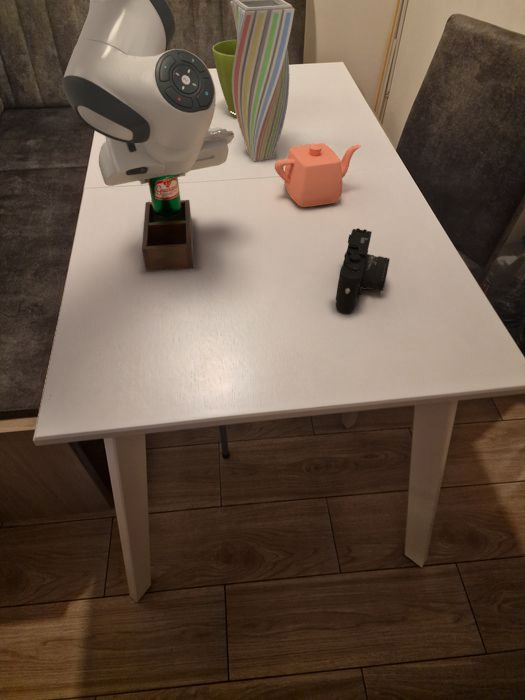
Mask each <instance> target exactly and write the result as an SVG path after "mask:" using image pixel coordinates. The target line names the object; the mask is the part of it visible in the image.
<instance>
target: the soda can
mask: <svg viewBox="0 0 525 700" xmlns="http://www.w3.org/2000/svg"><path fill="white" fill-rule="evenodd" d="M148 188H149V193H150V194H149V195H150V199H151V202H152V206H153V211H154V213H155V214H156V215H158V216H160V217H163V218H170V217H174V216H176V215H177V214H179V212H180V211H181V208H182V207H181V200H182V199H181V194H180V193H181V192H180V185H179V177H178V176H177V174H176V175H165V176H160V177H155V178H150V181H149V183H148Z"/></svg>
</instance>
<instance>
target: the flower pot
mask: <svg viewBox="0 0 525 700" xmlns="http://www.w3.org/2000/svg"><path fill="white" fill-rule="evenodd" d="M236 46H237V39H229V40H224V41H220V42H217V43H215V44H213V46H212V54H213V61H214V64H215V69H216V73H217V78H218V81H219V84H220V88H221V92H222V94H223V98H224V101H225V104H226V106H227V108H228V111H229V110H230V111H232V112H234V113H236V112H235V108H234V102H233V94H232V71H233V63H234V57H235V52H236ZM230 111H229V112H230ZM230 115H231V117H233V118H236V119H237V116H236V115H234V114H232V113H230Z"/></svg>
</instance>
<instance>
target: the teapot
mask: <svg viewBox="0 0 525 700" xmlns="http://www.w3.org/2000/svg"><path fill="white" fill-rule="evenodd" d="M361 147H362V145H361V144H355V145H352V146H350V147H349V148H347V149H346V151H345V152H344V154H343V156H342V159H340V157H339V156H338V154H337V153H336V152H335V151H334V150H333V149H332V148H331V147H330V146H329V145H327V144H326V143H324V142H323V143H322V142H321V143H311V144H303V145H301V144H300V145H294V146H291V147H290V148H289V151H288V154H287V156H286V158H285V159H279V160H277V161H275V163H274V170H275V172H276V174H277V175H278V176H279V177H280V178H281V179H282V180H283V182H284V186H285V189H286V191H287V193H288V195H289V197H290V198H291V199H292V200H293V202H295V204H297V205H298V206H299V207H301V208H304V207H305V208H306V207H317V206H323V205H328V204H334V203H337V202H338V201H339V200H340V198H341V196H342V192H343V178H345V176H346V175H347V173H348V170H349V167H350V163H351V159H352V158H353V157H352V156H353V155H354V154H355V152H356V151H357V150H358V149H360V148H361Z"/></svg>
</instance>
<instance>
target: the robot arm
mask: <svg viewBox="0 0 525 700" xmlns="http://www.w3.org/2000/svg"><path fill="white" fill-rule="evenodd" d="M87 12H88V13H87V16H86V19H85V21H84V24H83V26H82V29H81V32H80V34H79V37H78V39H77V42H76V44H75V45H74V48H73V51H72V53H71V56H70V59H69V61H68V64H67V67H66V69H65V72H64V75H63V77H62V80H61V86H62V90H63V93H64V95H65V98H66V99H67V102H68V104H69V105H70V107H71V108H72V110H73V111H74V112H75V114H76V115H77V116H78V118H79V119H80V120H81V122H83V123H84V124H85V125H86V126H87V127H88V128H89V129H91V130H92V131H94V132H96V133H98V134H100V135H102V136H104V137H105V141H104V143H102V145H101V146H100V149H99V154H98V167H99V170H100V174H101V177H102V180H103V182H104V184H105V185H106V186H110V187H113V186H119V185H123V184H129V183H133V182H134V183H135V182H139V183H140V185H146V184H149V181H150V178H155V177H160V176H165V175H176V174H177V176H178V178H182V177H185V176H186V175H187V174H188V173H189V172H191V171H196V170H200V169H206V168H211V167H218V166H221V165H223V164H225V162H226V161H227V159H228V156H229V152H230V151H229V144H231V143H232V141H234V138H235V132H234V131H233V130H227V129H225V128H222V127H219V126H214V127H213V126H212V127H211V124H212V122H213V119H214V115H215V110H216V99H217V97H216V96H217V93H216V86H215V82H214V79H213V76H212V74H211V72H210V70H209V68H208V67H207V65H206V64H205V62H204V61H203V60H202V59H201V58H199V56H197V55H196V54H194V53H192V52H191V51H189V50H186V49H181V48H172V49H169V47H170V45H171V43H172V41H173V39H174V37H175V33H176V22H175V17H174V15H173V12H172V9H171V6H170V5H169V2H168V0H89V8H88V11H87ZM168 49H169V50H168Z"/></svg>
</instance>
